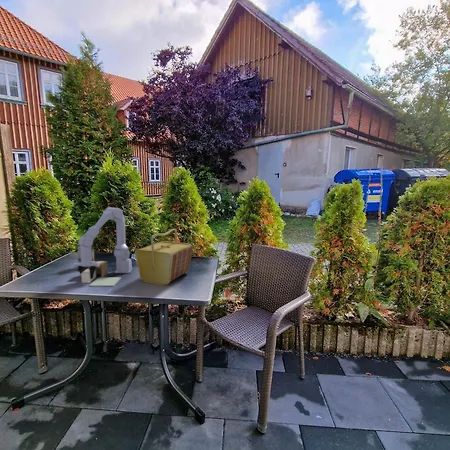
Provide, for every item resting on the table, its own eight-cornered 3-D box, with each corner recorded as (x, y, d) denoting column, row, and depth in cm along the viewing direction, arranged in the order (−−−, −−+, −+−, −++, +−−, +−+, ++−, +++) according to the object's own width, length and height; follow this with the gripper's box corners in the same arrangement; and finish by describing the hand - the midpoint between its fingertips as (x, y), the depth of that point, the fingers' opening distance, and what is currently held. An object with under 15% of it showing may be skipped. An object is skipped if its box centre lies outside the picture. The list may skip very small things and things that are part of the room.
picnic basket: (171, 288, 170) (170, 237, 165) (134, 282, 178) (132, 233, 174) (193, 273, 197) (193, 229, 192) (160, 268, 205) (159, 226, 201)
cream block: (96, 277, 186) (95, 268, 185) (89, 282, 176) (88, 273, 175) (88, 277, 186) (88, 268, 185) (81, 282, 176) (81, 273, 175)
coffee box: (86, 269, 202) (85, 246, 200) (78, 268, 203) (76, 245, 201) (94, 265, 211) (93, 243, 209) (87, 264, 212) (85, 243, 210)
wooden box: (107, 273, 193) (107, 261, 192) (103, 277, 185) (102, 264, 184) (86, 273, 193) (85, 261, 191) (80, 277, 185) (79, 264, 183)
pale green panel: (121, 278, 185) (121, 277, 184) (113, 286, 171) (113, 285, 171) (98, 278, 184) (98, 277, 184) (89, 286, 170) (89, 285, 170)
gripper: (70, 258, 172) (72, 280, 174) (95, 258, 173) (96, 280, 175) (76, 255, 179) (77, 276, 181) (100, 255, 180) (101, 276, 182)
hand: (87, 278), depth 178 cm, fingers closed on cream block, 4 cm apart
